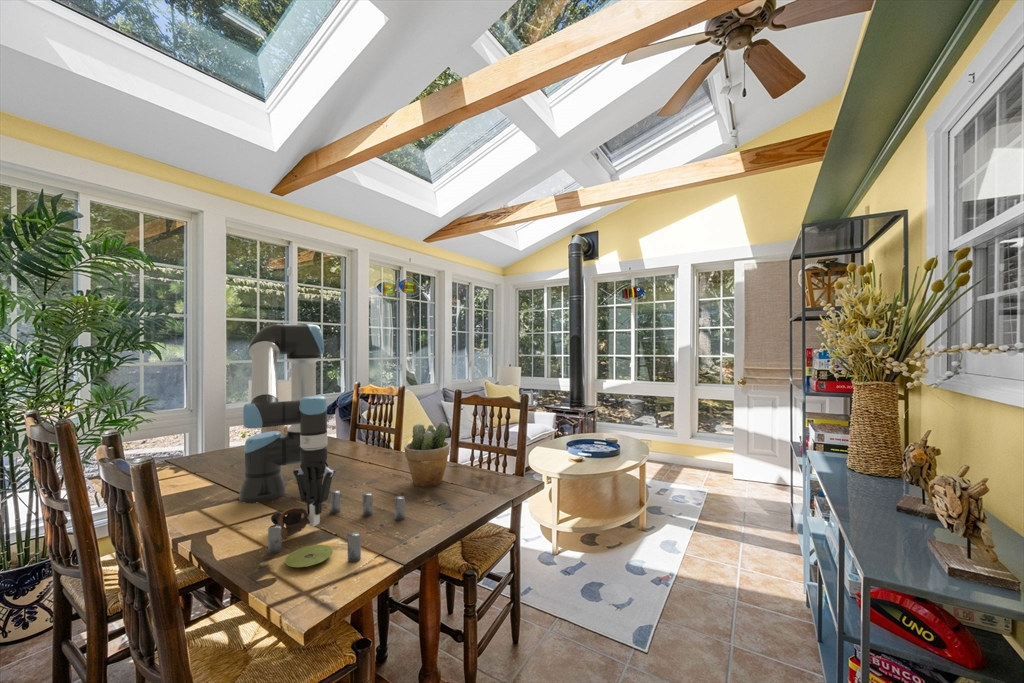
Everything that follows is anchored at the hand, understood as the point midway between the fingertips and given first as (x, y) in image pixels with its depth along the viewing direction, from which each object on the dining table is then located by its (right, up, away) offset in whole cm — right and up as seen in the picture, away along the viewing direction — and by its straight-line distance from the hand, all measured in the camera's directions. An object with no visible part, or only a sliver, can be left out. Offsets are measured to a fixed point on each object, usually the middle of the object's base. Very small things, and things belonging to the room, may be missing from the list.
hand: (314, 524), depth 126 cm
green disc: (+7, -2, -18) cm, 19 cm away
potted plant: (+26, -2, +43) cm, 50 cm away
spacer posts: (+10, -2, -2) cm, 10 cm away
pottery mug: (-8, -3, 0) cm, 8 cm away
